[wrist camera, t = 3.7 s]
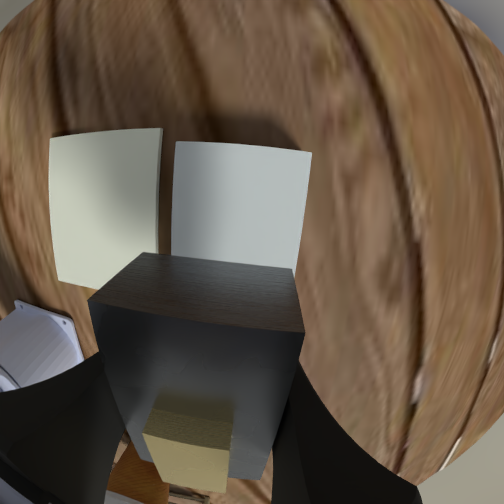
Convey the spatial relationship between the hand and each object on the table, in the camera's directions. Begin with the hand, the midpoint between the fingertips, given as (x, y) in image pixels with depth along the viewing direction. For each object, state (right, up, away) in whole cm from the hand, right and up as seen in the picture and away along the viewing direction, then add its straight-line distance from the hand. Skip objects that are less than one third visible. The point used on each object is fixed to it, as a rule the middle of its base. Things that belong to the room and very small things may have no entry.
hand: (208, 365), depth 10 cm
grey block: (0, 0, 0) cm, 1 cm away
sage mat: (-10, +7, +8) cm, 14 cm away
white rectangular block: (+1, +3, +9) cm, 9 cm away
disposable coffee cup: (-12, -23, +19) cm, 32 cm away
